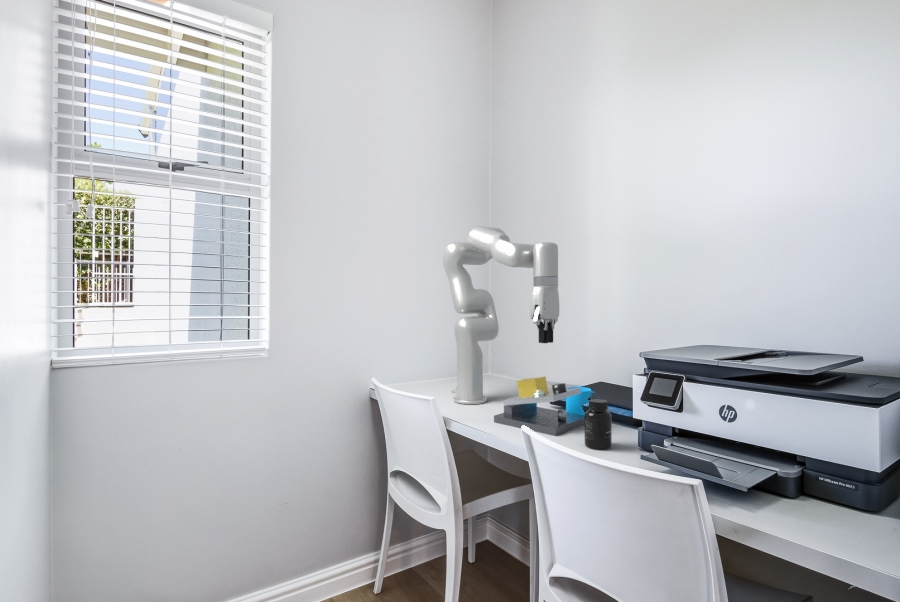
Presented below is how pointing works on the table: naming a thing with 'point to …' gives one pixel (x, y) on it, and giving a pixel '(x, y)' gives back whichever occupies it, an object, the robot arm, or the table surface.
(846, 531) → the table surface
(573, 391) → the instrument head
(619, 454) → the table surface
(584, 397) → the mug
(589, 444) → the supplement bottle
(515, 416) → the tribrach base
